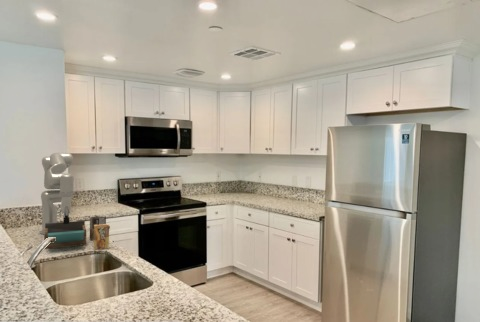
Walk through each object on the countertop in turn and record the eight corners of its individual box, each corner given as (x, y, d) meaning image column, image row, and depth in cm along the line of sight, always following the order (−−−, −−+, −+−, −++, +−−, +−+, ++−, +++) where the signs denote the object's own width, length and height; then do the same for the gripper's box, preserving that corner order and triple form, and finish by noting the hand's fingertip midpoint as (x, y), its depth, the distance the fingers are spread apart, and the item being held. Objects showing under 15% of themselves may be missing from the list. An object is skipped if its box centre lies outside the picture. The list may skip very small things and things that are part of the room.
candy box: (108, 246, 220) (108, 223, 219) (108, 248, 216) (109, 225, 216) (93, 248, 216) (93, 224, 216) (93, 250, 212) (94, 226, 212)
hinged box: (45, 242, 226) (45, 223, 226) (84, 238, 238) (84, 220, 237) (44, 248, 212) (44, 228, 212) (86, 244, 224) (86, 225, 223)
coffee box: (106, 239, 236) (106, 217, 236) (98, 242, 231) (99, 218, 230) (96, 238, 240) (96, 215, 240) (89, 240, 234) (89, 217, 234)
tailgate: (48, 241, 214) (47, 233, 203) (82, 238, 223) (84, 230, 213) (48, 243, 213) (47, 235, 203) (82, 240, 222) (84, 232, 212)
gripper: (59, 193, 215) (59, 221, 215) (59, 196, 201) (59, 226, 202) (72, 192, 218) (72, 220, 219) (73, 195, 205) (73, 225, 206)
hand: (66, 223), depth 210 cm, fingers closed
